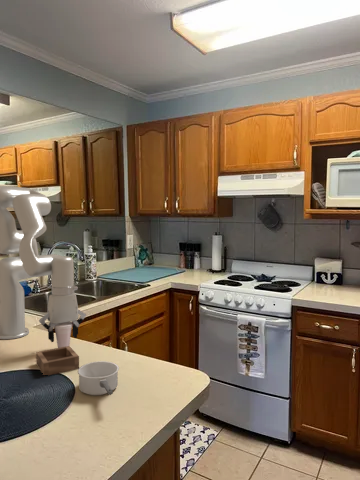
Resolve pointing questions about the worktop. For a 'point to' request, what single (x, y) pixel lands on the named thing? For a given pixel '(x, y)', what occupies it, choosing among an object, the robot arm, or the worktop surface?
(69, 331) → the smoothie
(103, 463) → the worktop surface
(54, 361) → the wooden frame
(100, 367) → the saucepan
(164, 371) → the worktop surface
